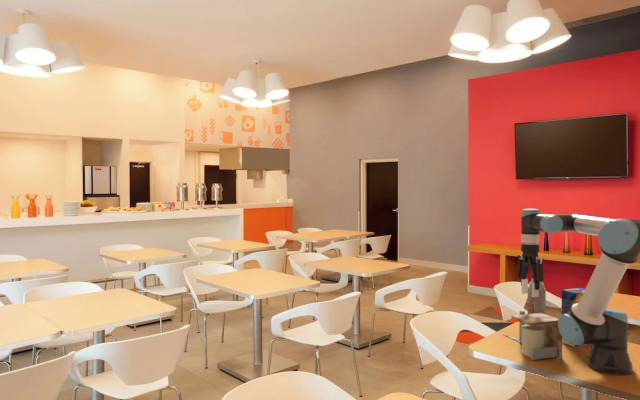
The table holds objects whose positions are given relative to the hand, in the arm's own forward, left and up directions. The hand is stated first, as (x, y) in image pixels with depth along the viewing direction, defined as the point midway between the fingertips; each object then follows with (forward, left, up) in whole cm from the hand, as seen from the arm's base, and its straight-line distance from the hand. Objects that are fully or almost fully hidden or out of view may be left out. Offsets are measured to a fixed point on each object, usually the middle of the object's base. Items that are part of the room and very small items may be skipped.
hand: (529, 294), depth 208 cm
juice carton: (-3, -24, -23) cm, 33 cm away
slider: (-5, +6, -22) cm, 24 cm away
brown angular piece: (0, +5, -23) cm, 23 cm away
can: (-9, +6, -23) cm, 26 cm away
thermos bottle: (+14, -16, -23) cm, 31 cm away
